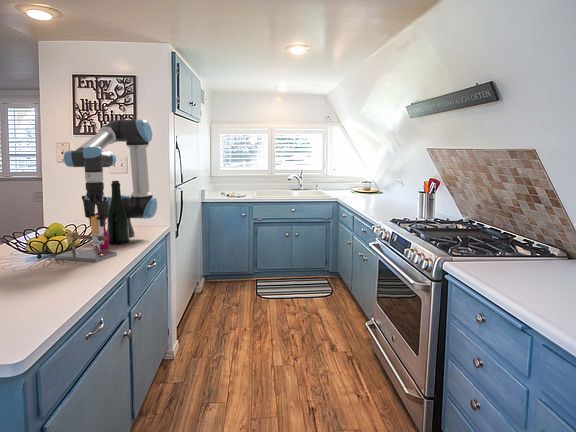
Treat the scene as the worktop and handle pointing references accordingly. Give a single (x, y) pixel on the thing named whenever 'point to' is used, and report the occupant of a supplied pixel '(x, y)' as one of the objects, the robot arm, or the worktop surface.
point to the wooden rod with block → (75, 235)
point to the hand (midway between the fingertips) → (97, 233)
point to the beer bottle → (117, 218)
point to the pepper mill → (105, 245)
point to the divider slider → (96, 232)
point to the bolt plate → (86, 255)
